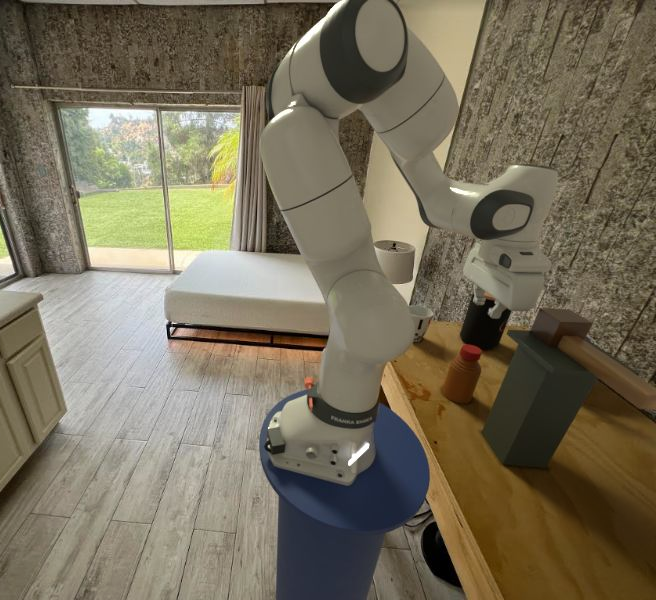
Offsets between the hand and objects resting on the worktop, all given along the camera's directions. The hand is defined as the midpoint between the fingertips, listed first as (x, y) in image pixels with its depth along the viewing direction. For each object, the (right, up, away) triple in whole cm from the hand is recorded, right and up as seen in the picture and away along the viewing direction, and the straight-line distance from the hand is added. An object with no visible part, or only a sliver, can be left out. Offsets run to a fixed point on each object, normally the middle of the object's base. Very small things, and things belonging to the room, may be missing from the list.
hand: (485, 310), depth 70 cm
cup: (+1, -10, +35) cm, 37 cm away
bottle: (0, -22, +11) cm, 25 cm away
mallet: (+2, -8, -20) cm, 22 cm away
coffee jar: (+21, -12, +32) cm, 40 cm away
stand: (+2, -30, -5) cm, 30 cm away
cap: (0, -10, +5) cm, 11 cm away
